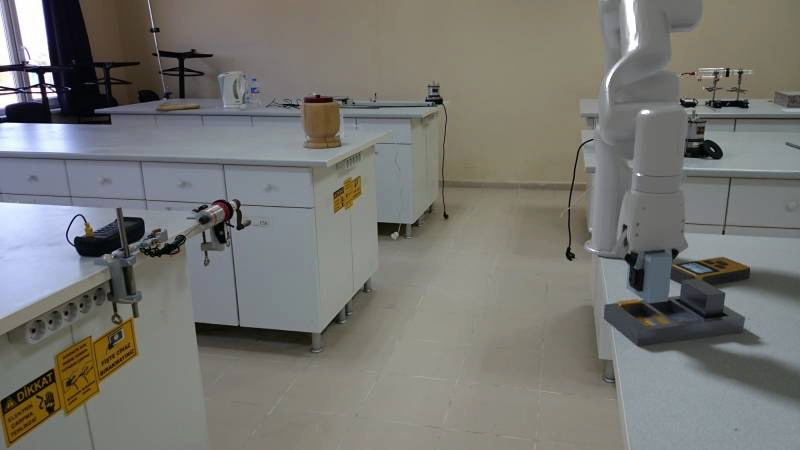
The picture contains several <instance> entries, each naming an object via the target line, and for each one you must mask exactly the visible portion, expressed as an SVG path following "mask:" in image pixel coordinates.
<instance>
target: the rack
mask: <svg viewBox="0 0 800 450" xmlns="http://www.w3.org/2000/svg"><path fill="white" fill-rule="evenodd" d="M725 299H726V292H724V291H723V290H722V289H719V288H717V287H716V286H715V285H710V284H708V283H706V282H704V281H703V280H701V279H690V280H682V282H681V284H680V293H679V295H676V296H675V295H674V296H668V301H665V302H656V303H648V302H646V301H645V300H643V299H642V300H639V299H638V298H636V299H627V300H620V301H619V300H617V302H616V303H614V302H613V303H606V304H604V309H603V310H604V312H603V319H604V320H605V321H606V323H609V324H610V326H612V327H614V328H615V329H616V330H617V331H618V332H619V333H621V334H622V335H624V337H626V339H628V340H629V341H631V342H632V343H633V344H634V345H635V346H637V347H639V346H648V345H656V344H663V343H670V342H671V343H672V342H679V341H685V340H686V341H687V340H692V339H693V340H694V339H695V340H696V339H701V338H702V339H703V338H709V337H716V336H723V335H724V336H725V335H730V334H731V335H733V334H740V333H744V328H745V321H746V317H745V316H743V315H742V314H740V313H739V312H737V311H735V310H733V309H731V308H729V307H727V306H726V305H725Z"/></svg>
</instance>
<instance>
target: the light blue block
mask: <svg viewBox="0 0 800 450" xmlns="http://www.w3.org/2000/svg"><path fill="white" fill-rule="evenodd" d="M671 265H673V261H672V256H671V255H669V254H667V253H665V252H663V251H651V252H645V255H644V260H643V264H642V269H643V270H644V281H643V290H642V291H641V292H638V291H637V290H635V289H634V288H632V287H631V286H630V284H629V270H630V265H628V264H627V273H626V274H627V277H626V286H625V287H626V289H627V290H628V291H630V292H631V293H633V294H634V295H636V296H638V297H639V298H640V299H642V300H645V301H646V302H648V303H656V302H665V301H668V297H670V296H669V294H670V293H669V292H670V283H671V279H670V275H671Z"/></svg>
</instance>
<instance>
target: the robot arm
mask: <svg viewBox="0 0 800 450" xmlns="http://www.w3.org/2000/svg"><path fill="white" fill-rule="evenodd" d="M597 3H598V4H597V21H598V26H599V28H600V29H599V30H600V32H601V35H602V39H603V42H604V47H605V60H604V61H605V62H604V75H603V80H602V82H601V85H600V88H599V92H598V100H597V101H598V102H597V103H598V104H597V105H598V106H597V109H598V124H597V125H596V127H595V128H594V131H593V146H594V147H593V148H594V149H593V150H594V157H595V158H594V159H595V160H594V162H595V177H594V192H593V195H594V196H593V208H592V209H593V213H592V227H589V229H588V232H589V233H591V239H588V240H587V241H585V243H584V250H586V251H587V252H588V253H590V254H592V255H595V256H599V257H604V258H612V259H613V258H614V259H615V258H618V259H619V258H621V259H623V260H624V261H625V262H626V264H627V266H628V265H630V270H629V284H630V286H631V287H632V288H634V289H635V290H637V291H638V292H641V291H642V290H643V281H644V270H643V269H642V264H643V260H644V255H645V252H651V251H663V252H665V253H667V254H669V255H671V256H672V262H673V261H674V260H675V259H676V258H677V257H678V255H679V254H681V253H682V252H684V251H685V250H686V249H688V248H689V243H688V241H687V240H686V239H687V238H686V237H685V232H686V231H685V230H686V203H685V196H684V191H682V190H681V188H682V184H683V183H686V182H687V181H688V176H687V174H684V173H683V167H684V157H685V149H686V148H685V147H686V137H687V130H688V125H689V121H688V120H689V116H688V112H687V111H686V110H685V109H684V107H683V105H682V104H681V103H680V99H681V98H680V97H681V96H680V95H681V85H680V84H681V83H680V79H679V76H678V75H677V73H676V71H674V70H672V69H669V68H666V67H667V66H668V64H670V62H671V60H672V56H673V52H672V44H671V43H672V41H671V34H672V33H690V32H693V31H694V30H696V29H697V28H698V26H699V25H700V23H701V20H702V17H703V12H704V11H703V9H704V6H703V0H598V2H597ZM630 161H633V162H632V168H631V166H630V165H629V163H628V162H630Z"/></svg>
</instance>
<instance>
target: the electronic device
mask: <svg viewBox="0 0 800 450" xmlns="http://www.w3.org/2000/svg"><path fill="white" fill-rule="evenodd" d="M750 276H751V267H749V266H748V265H746V264H743V263H741V262H739V261H736V260H733V259H730V258H728V257H726V256H717V257H713V258H705V259H701V260H700V259H699V260H694V261H687V262H681V263H676V264H675V263H674V264H672V265H671V275H670V281H673V282H675V283H677V284H679V285H681V282H682V280H690V279H701V280H703V281H704V282H706V283H708V284H710V285H712V286H715V285H722V284H726V283H733V282H738V281H743V280H747V279H749V278H750Z"/></svg>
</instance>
